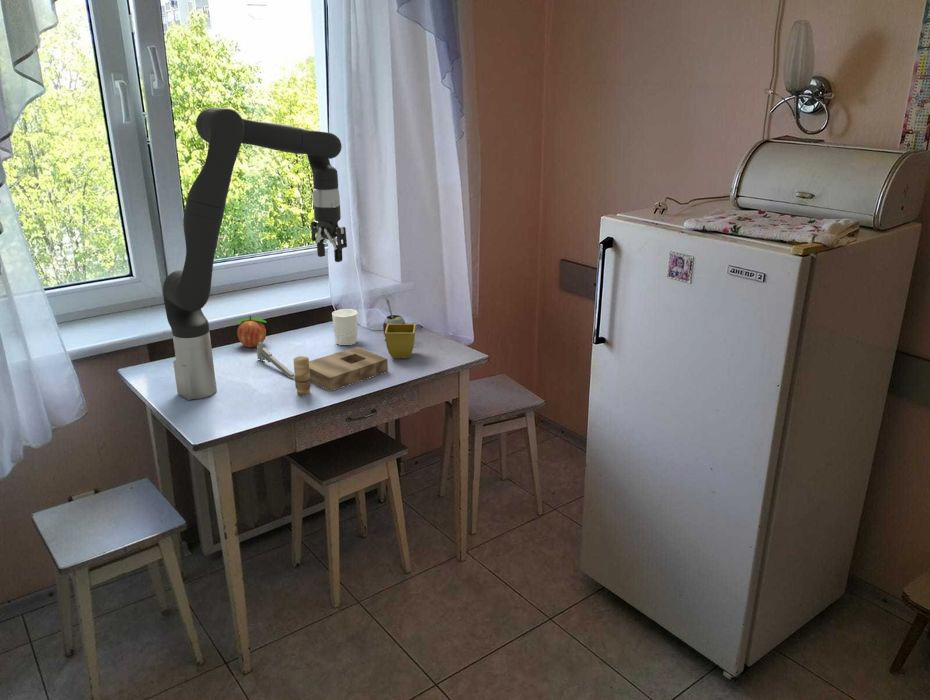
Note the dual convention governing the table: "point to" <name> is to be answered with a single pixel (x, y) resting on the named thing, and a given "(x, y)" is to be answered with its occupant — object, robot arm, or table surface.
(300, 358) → the peg
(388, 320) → the mate gourd
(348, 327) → the white cup
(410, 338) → the flower pot
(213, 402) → the table surface
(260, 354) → the caliper
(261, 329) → the fruit
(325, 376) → the board
